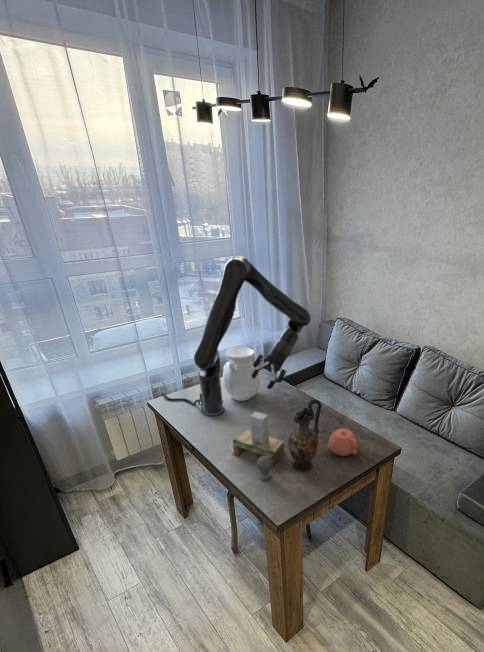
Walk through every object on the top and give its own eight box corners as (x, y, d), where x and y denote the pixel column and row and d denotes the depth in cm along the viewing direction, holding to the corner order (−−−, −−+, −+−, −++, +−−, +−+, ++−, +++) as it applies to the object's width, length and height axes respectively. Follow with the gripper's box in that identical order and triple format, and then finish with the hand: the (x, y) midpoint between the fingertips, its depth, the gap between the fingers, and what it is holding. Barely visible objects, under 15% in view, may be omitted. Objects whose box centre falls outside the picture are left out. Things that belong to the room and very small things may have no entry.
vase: (285, 458, 162) (285, 395, 147) (315, 454, 165) (317, 391, 150) (291, 477, 153) (291, 411, 137) (322, 472, 156) (325, 407, 141)
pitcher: (249, 408, 194) (246, 362, 181) (217, 401, 199) (212, 355, 186) (267, 392, 209) (266, 348, 196) (237, 385, 214) (233, 341, 202)
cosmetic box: (269, 439, 163) (268, 414, 157) (263, 445, 160) (262, 420, 154) (256, 435, 165) (255, 411, 159) (251, 440, 162) (249, 416, 156)
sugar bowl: (341, 438, 176) (343, 418, 171) (365, 452, 168) (367, 433, 163) (321, 449, 169) (322, 429, 164) (345, 465, 160) (347, 444, 155)
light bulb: (258, 472, 154) (256, 452, 149) (273, 472, 155) (273, 452, 150) (257, 483, 149) (255, 462, 144) (273, 483, 150) (272, 462, 144)
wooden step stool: (234, 454, 163) (232, 439, 160) (247, 441, 171) (246, 426, 168) (272, 466, 158) (271, 451, 154) (284, 452, 166) (284, 438, 162)
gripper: (264, 340, 166) (244, 373, 167) (290, 357, 162) (270, 390, 163) (271, 344, 173) (251, 376, 174) (296, 361, 170) (276, 393, 171)
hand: (260, 383), depth 169 cm, fingers open, 8 cm apart
